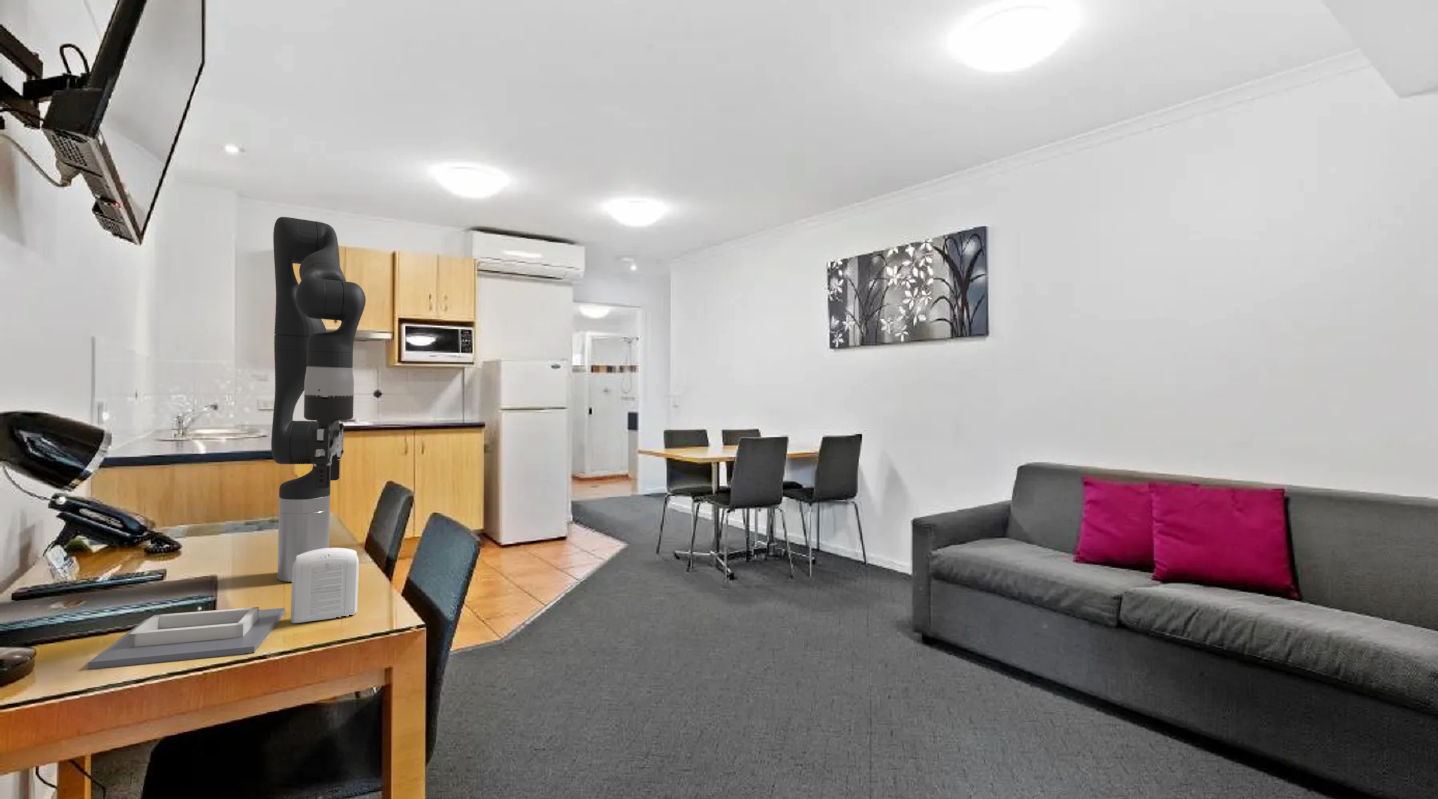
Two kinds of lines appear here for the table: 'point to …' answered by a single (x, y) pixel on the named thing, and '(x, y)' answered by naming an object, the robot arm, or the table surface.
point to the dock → (191, 636)
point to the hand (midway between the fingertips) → (327, 484)
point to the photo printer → (324, 584)
